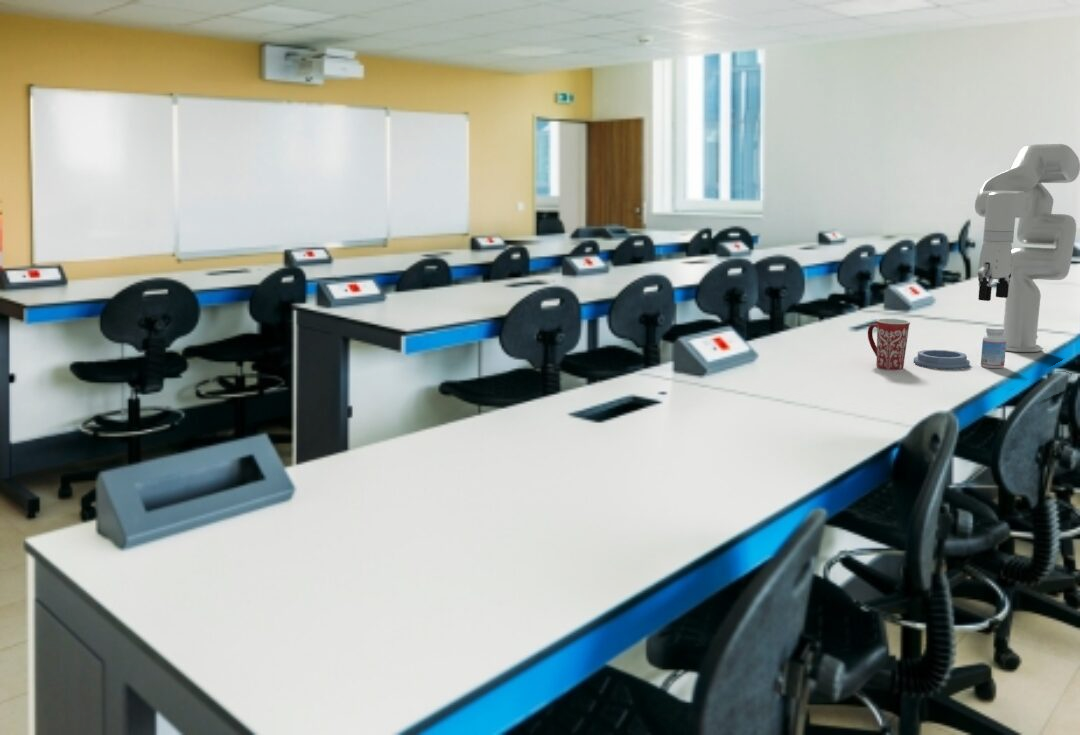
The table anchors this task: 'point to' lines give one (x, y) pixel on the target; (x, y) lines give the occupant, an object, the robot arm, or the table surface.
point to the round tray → (942, 359)
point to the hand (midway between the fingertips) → (993, 298)
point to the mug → (890, 342)
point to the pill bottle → (993, 348)
